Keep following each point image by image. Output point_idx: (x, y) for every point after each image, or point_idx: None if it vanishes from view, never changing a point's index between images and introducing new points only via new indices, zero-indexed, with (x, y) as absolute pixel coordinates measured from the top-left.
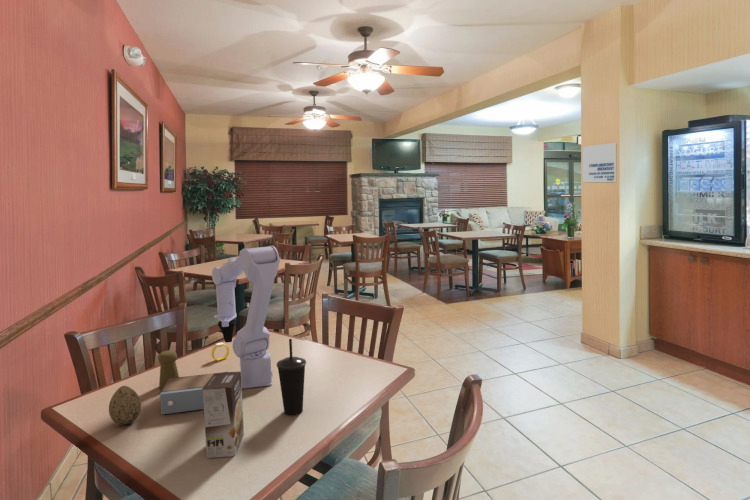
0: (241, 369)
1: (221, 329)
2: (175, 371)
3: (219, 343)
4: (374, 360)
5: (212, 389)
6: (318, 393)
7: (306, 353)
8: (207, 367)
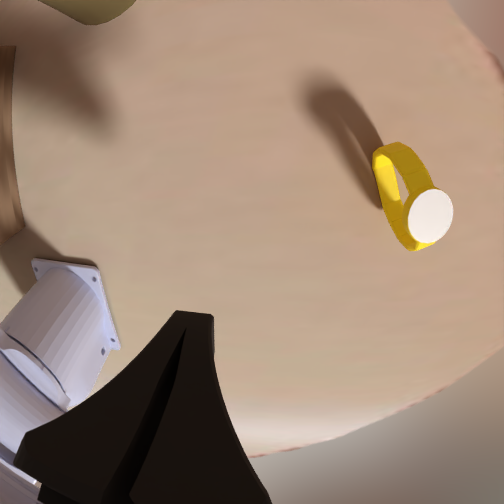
0: (19, 302)
1: (74, 411)
2: (45, 3)
3: (437, 216)
4: None
5: None
6: None
7: (277, 424)
8: (291, 108)
